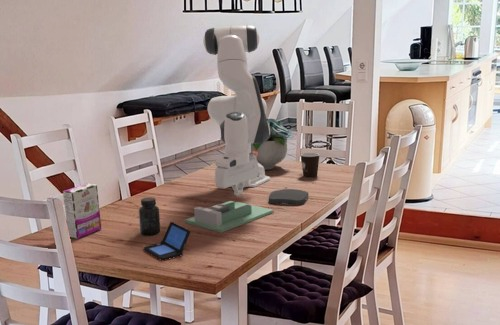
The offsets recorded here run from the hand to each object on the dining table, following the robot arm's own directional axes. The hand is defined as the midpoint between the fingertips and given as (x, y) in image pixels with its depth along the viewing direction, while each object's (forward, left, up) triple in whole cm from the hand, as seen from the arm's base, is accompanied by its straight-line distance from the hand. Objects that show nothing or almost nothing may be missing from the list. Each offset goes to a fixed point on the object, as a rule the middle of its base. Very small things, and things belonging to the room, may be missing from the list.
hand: (238, 194), depth 220 cm
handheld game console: (+42, +8, -8) cm, 44 cm away
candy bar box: (+48, -28, -8) cm, 56 cm away
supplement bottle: (+34, -10, -8) cm, 37 cm away
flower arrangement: (-63, -40, -8) cm, 75 cm away
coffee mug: (-64, -14, -8) cm, 66 cm away
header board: (+5, 0, -8) cm, 9 cm away
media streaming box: (-26, +3, -8) cm, 27 cm away
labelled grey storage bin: (+12, +1, -7) cm, 14 cm away
